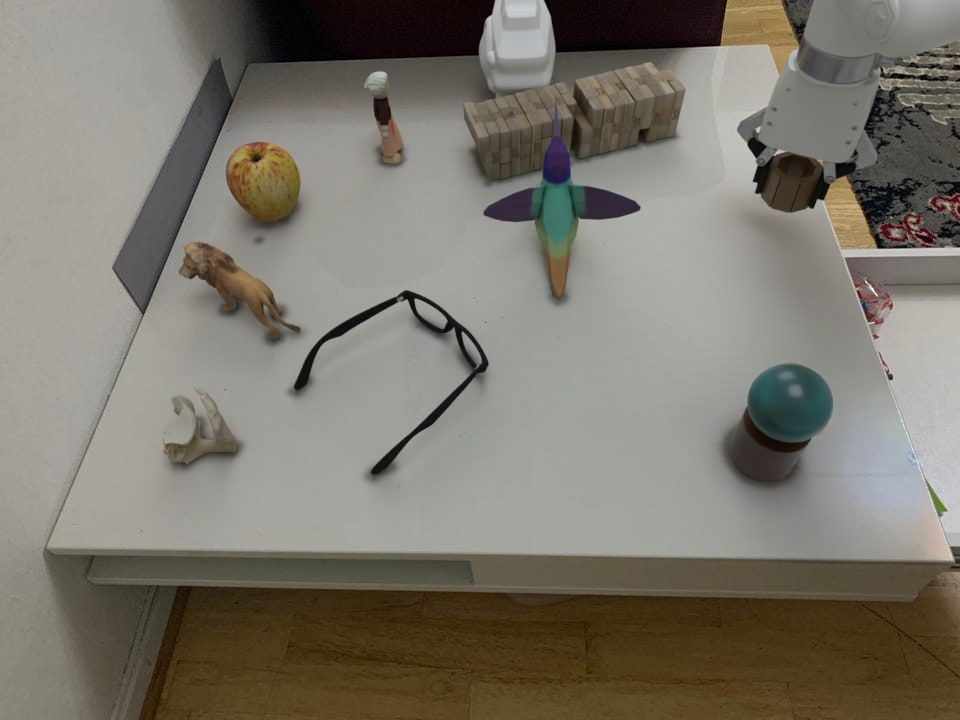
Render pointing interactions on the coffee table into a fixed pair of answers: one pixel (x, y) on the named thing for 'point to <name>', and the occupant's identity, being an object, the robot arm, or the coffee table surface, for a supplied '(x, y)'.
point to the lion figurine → (232, 283)
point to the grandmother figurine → (385, 117)
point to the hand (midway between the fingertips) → (786, 193)
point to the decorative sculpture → (559, 209)
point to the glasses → (449, 326)
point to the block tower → (575, 118)
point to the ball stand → (780, 421)
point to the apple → (263, 180)
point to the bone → (195, 431)
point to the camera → (517, 47)
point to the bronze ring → (791, 182)
